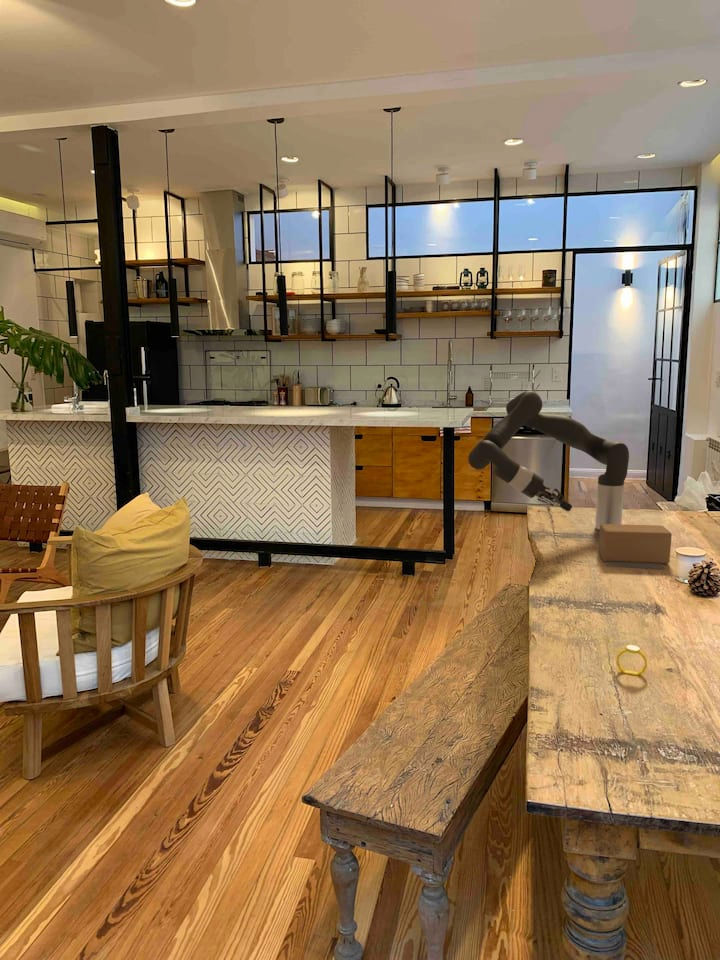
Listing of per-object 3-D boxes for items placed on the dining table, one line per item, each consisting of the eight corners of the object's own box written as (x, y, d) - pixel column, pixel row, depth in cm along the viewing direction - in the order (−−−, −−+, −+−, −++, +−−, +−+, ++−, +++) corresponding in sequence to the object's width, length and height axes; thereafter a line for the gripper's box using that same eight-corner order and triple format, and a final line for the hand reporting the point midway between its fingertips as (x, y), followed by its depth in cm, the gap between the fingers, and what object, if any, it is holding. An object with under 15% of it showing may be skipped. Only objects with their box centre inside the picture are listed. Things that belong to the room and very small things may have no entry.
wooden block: (598, 552, 240) (661, 554, 237) (604, 561, 230) (669, 563, 227) (600, 523, 238) (663, 525, 235) (606, 531, 228) (672, 533, 225)
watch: (645, 674, 154) (649, 648, 152) (644, 679, 151) (649, 653, 150) (615, 667, 156) (619, 642, 154) (614, 673, 153) (618, 647, 152)
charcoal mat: (603, 552, 241) (603, 551, 241) (657, 556, 237) (657, 554, 237) (607, 565, 227) (607, 564, 227) (664, 569, 223) (665, 568, 223)
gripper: (512, 493, 239) (556, 520, 240) (527, 488, 226) (574, 516, 227) (523, 474, 241) (566, 501, 242) (538, 468, 228) (584, 496, 229)
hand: (570, 508), depth 234 cm, fingers closed
